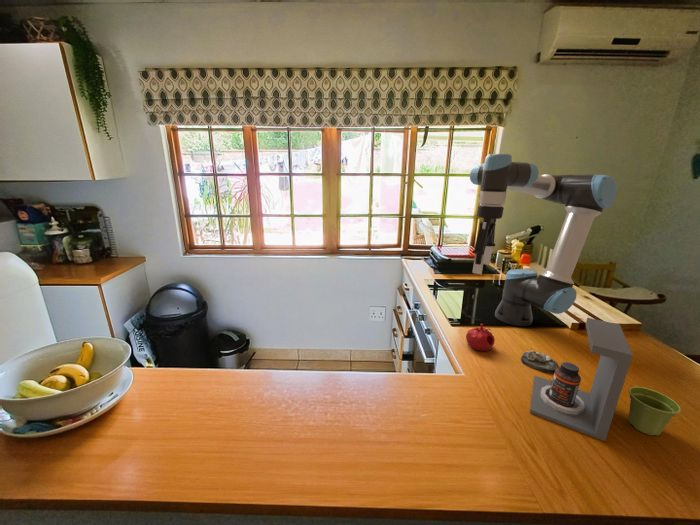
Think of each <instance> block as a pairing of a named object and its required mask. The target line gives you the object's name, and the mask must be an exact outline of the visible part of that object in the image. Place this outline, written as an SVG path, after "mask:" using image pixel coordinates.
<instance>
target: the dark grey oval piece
mask: <svg viewBox="0 0 700 525" xmlns="http://www.w3.org/2000/svg"><path fill="white" fill-rule="evenodd" d="M520 361H521V363H522V364H523V365H524V366H526V367H529V368H531V369H534V370H536V371H540V372H542V373H549V374H554V373H555V370H556V369H557V368H559V364H558V362H557V361H556V360H553V359H552V357H551V356H550V355H549V354H545V353H541V352H539V351H538V352H537V351H536V350H534V349H533V350H527V351H523V353H522V356H521V358H520Z"/></svg>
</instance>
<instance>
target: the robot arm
mask: <svg viewBox="0 0 700 525" xmlns="http://www.w3.org/2000/svg"><path fill="white" fill-rule="evenodd" d="M512 158H513V156H512V155H511V153H490V154H487V155H486V156H485V158H484V162H483V163H479V164H475V165H474V166H473V167H472V168H471V170H470V172H469V180H470V182H471V184H473V185H475V186H480V191H479V193H478V194H477V197H478V198H479V200H478V204H479V205H478V206H477V212H476V217H477V218H482V221H480V223H479V228H478V233H477V238H476V242H475V247H474V250H472V254H474V258H473V267H472V274H476V275H483V270H484V269H483V268H484V265H487V266H490V264H491V260H492V258H491V257H492V253H493V252H492V251H493V247H496V243H495V233H496V222H497V220H499V219H502V218H503V216H504V205H505V203H506V198H507V190H508V191H512V192H513V191H514V192H518V193H522V194H529V195H533V197H535V198H537V199H540V200H544V201H548V202H551V203H554V204H560V205H564V210H565V211H566V215H565V218H564V221H563V223H562V227H561V229H560V231H559V234H558V238H557V240H556V242H555V245H554V248H553V251H552V253H551V255H550V258H549V261H548V264H547V267H546V269H545V271H543V272H541V273H539V276H538V272H537V271H536V270H531V269H523V268H522V269H521V268H520V269H519V268H516V269H514V268H513V269H509V270H508V271H507V272H506V275H505V278H504V284H503V290H502V298H501V301H500V302H499V304H498V305H497V308H496V309H495V312H494V317H495V318H496V319H497V320H499V321H501V322H503V323H505V324H508V325H512V326H516V327H517V326H518V327H528V326H531V325H532V324H533V321H534V317H533V311H532V306H535V307H537V308H540V309H542V310H544V311H546V312H550V313H553V314H556V315H560V314H561V315H562V314H563V313H565V312H567V311H568V310H569V309H570V308H571V307H572V306H573V305H574V304H575V301H576V300H577V296H578V295H577V290H576V289H575V288H574V287H573V286H574V284H575V282H574V280H573V279H572V276H573V273H574V272H575V271H574V270H575V268H576V266H577V263H578V261H579V259H580V256H581V253H582V251H583V248H584V245H585V243H586V240H587V237H588V235H589V232H590V230H591V228H592V226H593V225H592V224H593V222H594V219H595V218H596V217H597V216H600V215H602V212H603V210H604V209H608V208H611V207H612V206H613V205H614V203H615V202H616V199H617V192H618V187H617V182H616V180H615V179H614V178H613V177H612V176H611V175H607V174H599V173H598V174H597V173H596V174H558V175H554V174H548V173H547V174H542V175H539V173H540V172H539V168H538V166H537V165H536V164H534V163H530V162H527V161H525V162H522V161H521V162H520V161H515V162H514V161H513V159H512Z"/></svg>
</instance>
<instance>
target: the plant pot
mask: <svg viewBox="0 0 700 525" xmlns="http://www.w3.org/2000/svg"><path fill="white" fill-rule="evenodd" d="M628 394H629V398H630V401H629V402H630V404H629V412H628V423H629V424H631V425H632V426H633V427H634V429H635V430H637V431H638V432H641V433H643V434H646V435H648V436H658V437H659V436H660V435H661V434H662V432H663V431H664V430H665V428H666V426H667V425H668V424H669V423H670V421H671V420H672V418H673V417H675V416H676V415H677V414H679V413H680V412H681V411H682V409H681V406H680V405H679V404H678V403H677V402H676V401H675V400H674V399H672V398H671V397H669V396H667V395H666V394H663V393H662V392H659V391H656V390H654V389H650V388H648V387H643V386H632V387H629V389H628Z"/></svg>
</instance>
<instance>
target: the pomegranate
mask: <svg viewBox="0 0 700 525" xmlns="http://www.w3.org/2000/svg"><path fill="white" fill-rule="evenodd" d="M473 327H474V328H471V329H468V331H467V333H466V335H465V339H466V342H467V344H468V346H470V348H471V349H473V350H476V351H479V352H487V351H490V350H492V348H493V347H494V345H495V342H496V339H495V336H494V335H493V334H492V332H491V331H492V329H491V328H486V327H484V324H483V323H480V327H477V326H475V325H473Z"/></svg>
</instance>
